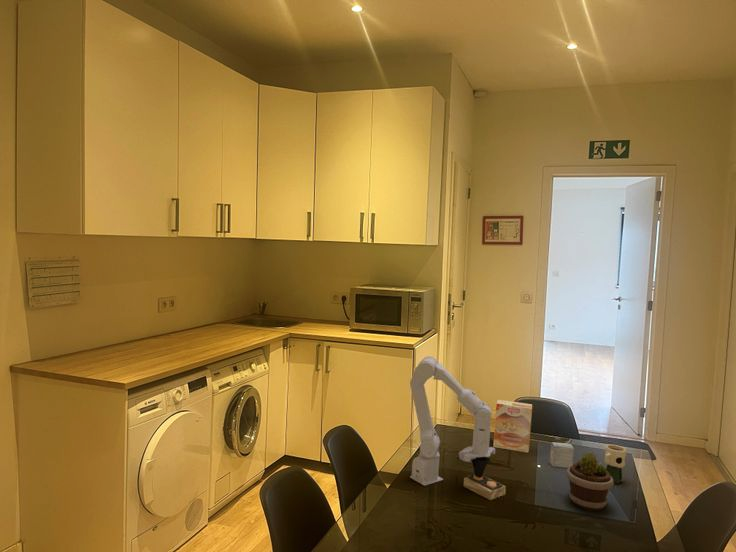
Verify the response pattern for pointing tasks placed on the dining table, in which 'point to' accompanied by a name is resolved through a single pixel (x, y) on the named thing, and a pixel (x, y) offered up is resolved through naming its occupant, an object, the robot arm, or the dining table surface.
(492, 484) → the peg
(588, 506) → the flowerpot
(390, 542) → the dining table surface
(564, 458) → the medicine box
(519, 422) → the coffeecake box
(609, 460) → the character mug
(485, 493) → the socket block
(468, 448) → the stone block
